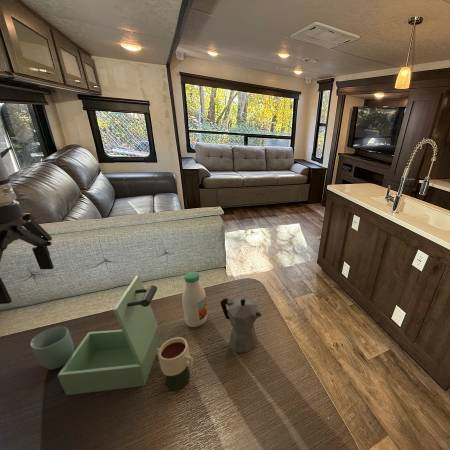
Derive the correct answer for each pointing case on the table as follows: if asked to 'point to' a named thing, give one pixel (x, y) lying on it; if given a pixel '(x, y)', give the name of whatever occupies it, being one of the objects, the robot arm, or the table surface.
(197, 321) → the milk bottle
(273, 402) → the table surface
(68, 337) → the cup
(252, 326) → the coffeepot
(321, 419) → the table surface
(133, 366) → the chest
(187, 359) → the character mug
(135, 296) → the lid
